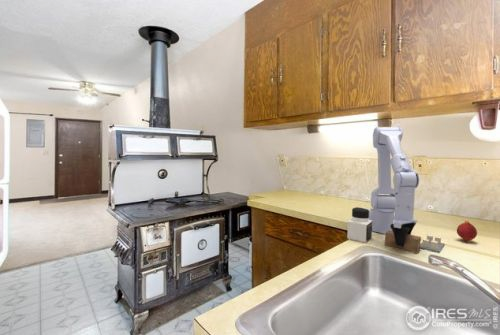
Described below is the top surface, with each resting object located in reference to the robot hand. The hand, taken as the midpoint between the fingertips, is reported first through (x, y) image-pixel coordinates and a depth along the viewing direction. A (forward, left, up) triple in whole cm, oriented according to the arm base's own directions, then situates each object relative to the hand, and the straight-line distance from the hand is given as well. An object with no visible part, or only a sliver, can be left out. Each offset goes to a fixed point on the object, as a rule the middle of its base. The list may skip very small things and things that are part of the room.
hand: (402, 243), depth 89 cm
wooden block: (0, 0, -2) cm, 2 cm away
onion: (+15, +25, -2) cm, 29 cm away
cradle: (+7, +9, -2) cm, 12 cm away
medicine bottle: (-14, -1, -2) cm, 15 cm away
